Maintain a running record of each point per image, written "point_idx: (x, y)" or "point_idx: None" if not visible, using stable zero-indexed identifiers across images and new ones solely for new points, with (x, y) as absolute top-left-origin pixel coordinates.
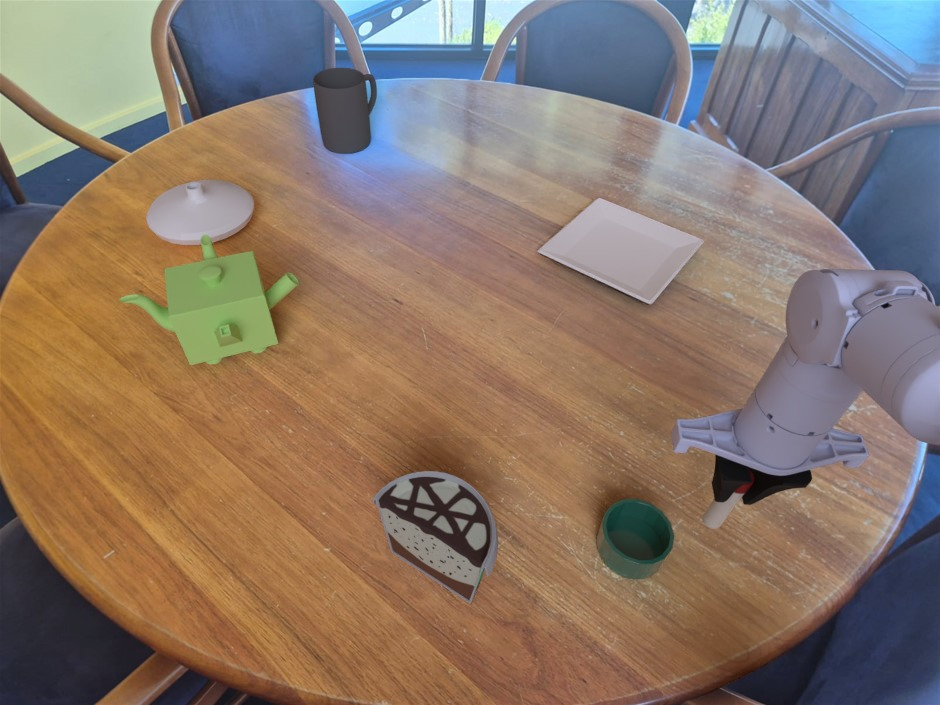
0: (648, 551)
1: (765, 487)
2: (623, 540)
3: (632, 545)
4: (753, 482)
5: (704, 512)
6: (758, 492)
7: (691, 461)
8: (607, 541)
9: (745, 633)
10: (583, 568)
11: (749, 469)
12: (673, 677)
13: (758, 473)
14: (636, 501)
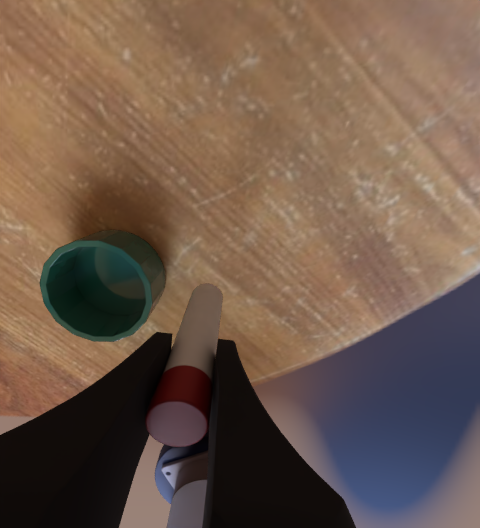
0: (139, 287)
1: (204, 506)
2: (106, 271)
3: (117, 279)
4: (201, 438)
5: (194, 290)
6: (208, 455)
7: (244, 130)
8: (48, 308)
9: None
10: None
11: (217, 378)
12: None
13: (212, 444)
14: (98, 245)
